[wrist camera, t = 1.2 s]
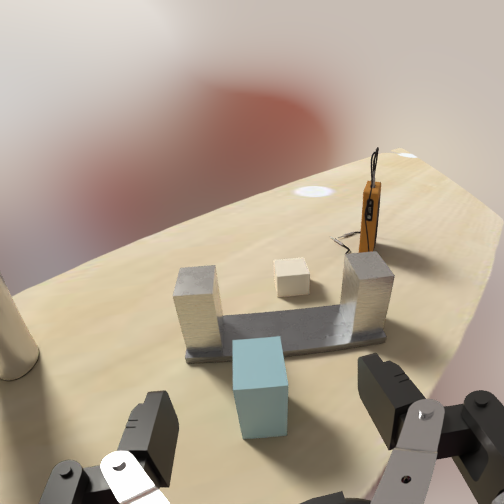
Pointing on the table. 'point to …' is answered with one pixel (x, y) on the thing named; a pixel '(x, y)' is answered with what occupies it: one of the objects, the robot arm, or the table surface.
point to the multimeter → (368, 213)
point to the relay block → (291, 277)
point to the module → (260, 387)
